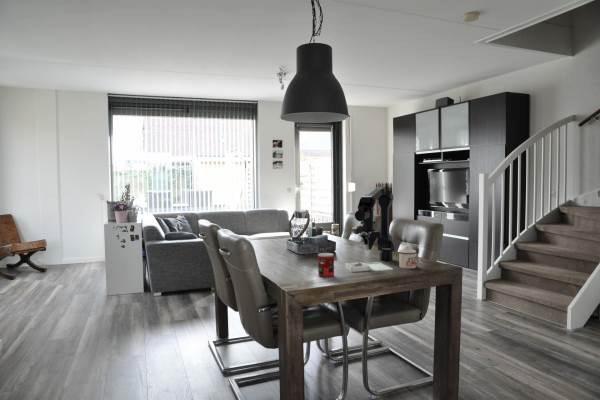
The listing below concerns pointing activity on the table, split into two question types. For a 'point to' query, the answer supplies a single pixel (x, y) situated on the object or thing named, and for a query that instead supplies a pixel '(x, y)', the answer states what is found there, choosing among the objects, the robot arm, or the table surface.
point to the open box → (352, 267)
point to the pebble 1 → (358, 264)
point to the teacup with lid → (407, 258)
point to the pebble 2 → (367, 248)
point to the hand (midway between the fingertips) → (368, 248)
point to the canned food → (326, 265)
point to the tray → (378, 266)
